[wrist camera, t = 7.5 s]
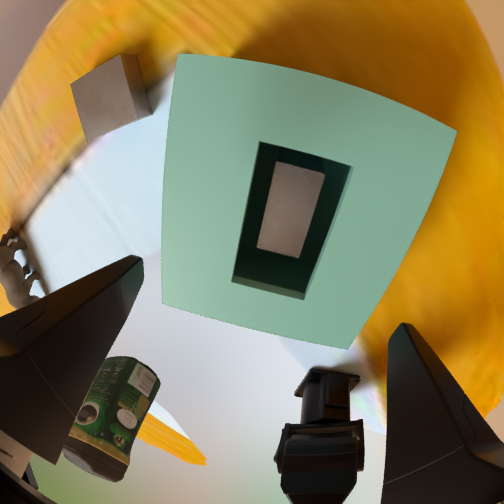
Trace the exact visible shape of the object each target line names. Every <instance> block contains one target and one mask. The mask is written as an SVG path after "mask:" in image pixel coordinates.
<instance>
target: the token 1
mask: <svg viewBox="0 0 504 504" xmlns="http://www.w3.org/2000/svg"><path fill="white" fill-rule="evenodd" d="M70 85H71V89H72V93H73V97H74V100H75V104H76V107H77V111H78V114H79V118H80V121H81V124H82V128H83V131H84V134H85V137H86V140H87V142H88V141H90V140H93V139H95V138H98V137H100V136H103V135H105V134H107V133H109V132H111V131H114V130H116V129H118V128H120V127H123V126H125V125H128V124H130V123H132V122H135V121H137V120H140V119H142V118H145V117H148V116H150V115H153V114H152V111H151V107H150V104H149V100H148V97H147V93H146V90H145V86H144V82H143V79H142V75H141V71H140V67H139V64H138V60H137V56H136V55H127V54H120V55H118V56H116V57H114V58H112V59H110V60H109V61H107V62H105V63H103V64H102V65H100V66H98V67H97V68H95V69H93V70H92V71H90V72H88V73H87V74H85V75H84V76H82V77H81V78H79V79H78V80H76V81H75V82H73V83H72V84H70Z"/></svg>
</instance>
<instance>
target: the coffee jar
mask: <svg viewBox="0 0 504 504" xmlns="http://www.w3.org/2000/svg"><path fill="white" fill-rule="evenodd" d="M160 384H161V383H160V380H159V378H158V377H157V375H156V374H155V373H154V371H153V370H152V369H151V368H150V367H148V366H147V365H145V364H143V363H141V362H140V361H138V360H137V359H135V358H133V357H127V356H116V357H110V358H107V359H105V360H104V362H103V364H102V366H101V368H100V370H99V372H98V374H97V375H96V377H95V379H94V382H93V384H92V386H91V388H90V390H89V392H88V394H87V396H86V399H85V401H84V403H83V405H82V407H81V409H80V411H79V413H78V415H77V417H76V419H75V421H74V424H73V426H72V428H71V430H70V433H69V435H68V437H67V439H66V442H65V444H64V447H63V449H62V452H63V453H64V456H65V458H67V459H68V460H69V461H71V462H72V463H73V464H75V465H76V466H78V467H79V468H81V469H82V470H84V471H86V472H88V473H90V474H92V475H95V476H97V477H100V478H103V479H105V480H108V481H112V482H117V481H120V480H122V479H123V477H124V474H125V472H126V470H127V468H128V466H129V463H130V451H131V448H132V445H133V442H134V440H135V437H136V435H137V433H138V431H139V428H140V426H141V424H142V422H143V420H144V418H145V416H146V414H147V412H148V410H149V408H150V406H151V404H152V402H153V400H154V398H155V396H156V394H157V392H158V390H159V388H160Z"/></svg>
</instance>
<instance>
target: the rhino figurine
mask: <svg viewBox="0 0 504 504" xmlns="http://www.w3.org/2000/svg"><path fill="white" fill-rule="evenodd" d="M14 238H15V234H14V232H13V231H12V229H9V230H8V232H7V234H4V235H3V236H2V239H1V242H0V283H1V284H2V285H3V287H4V289H5V291H6V295H7V299H8V301H9V303H10V304H11V305H12V306H13V307H14V308H16V309H20V308H22V307H24V306H26V305H28V304H30V303H32V302H35V301H37V300H39V299H40V298H39V297H37V296H34V295H33V296H30V294H29V293H30V289H31V287H32V283H33V281H34V280H40V279H41V277H40V274H39V273H38V272H37V271H33V272H32V274H31V275H29V276H28V277H27V279H25V276H26V274H29V273H30V269H29V268H27V267H26V266H23V269H22V267H21V265H20V264H19V263H18V262H17V261H16V260H15V259H14V255H15V252H16V251H17V250H19V249H22V250H25V249H26V248H27V247H26V243H25V242H24V241H23V240H22V239H21V238H20V239H19V240H18V241H17V242H14V241H13V242H11V243H10V245H9V246H8V245H7V243H8V240H9V239H14Z"/></svg>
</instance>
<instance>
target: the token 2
mask: <svg viewBox="0 0 504 504" xmlns="http://www.w3.org/2000/svg"><path fill="white" fill-rule="evenodd" d="M324 177H325V170H324V166H323V162H322V157H320V156H316V155H313V154H309V153H305V152H302V151H298V150H294V149H290V148H286V147H281V149H280V152H279V155H278V158H277V161H276V165H275V169H274V174H273V178H272V182H271V187H270V191H269V196H268V200H267V204H266V209H265V213H264V217H263V222H262V226H261V230H260V235H259V239H258V244H257V248H259V249H264V250H268V251H272V252H276V253H280V254H284V255H288V256H292V257H296V258H299V256H300V253H301V250H302V247H303V244H304V241H305V238H306V235H307V232H308V229H309V226H310V222H311V219H312V216H313V213H314V210H315V207H316V203H317V200H318V197H319V194H320V190H321V187H322V184H323V181H324Z"/></svg>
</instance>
